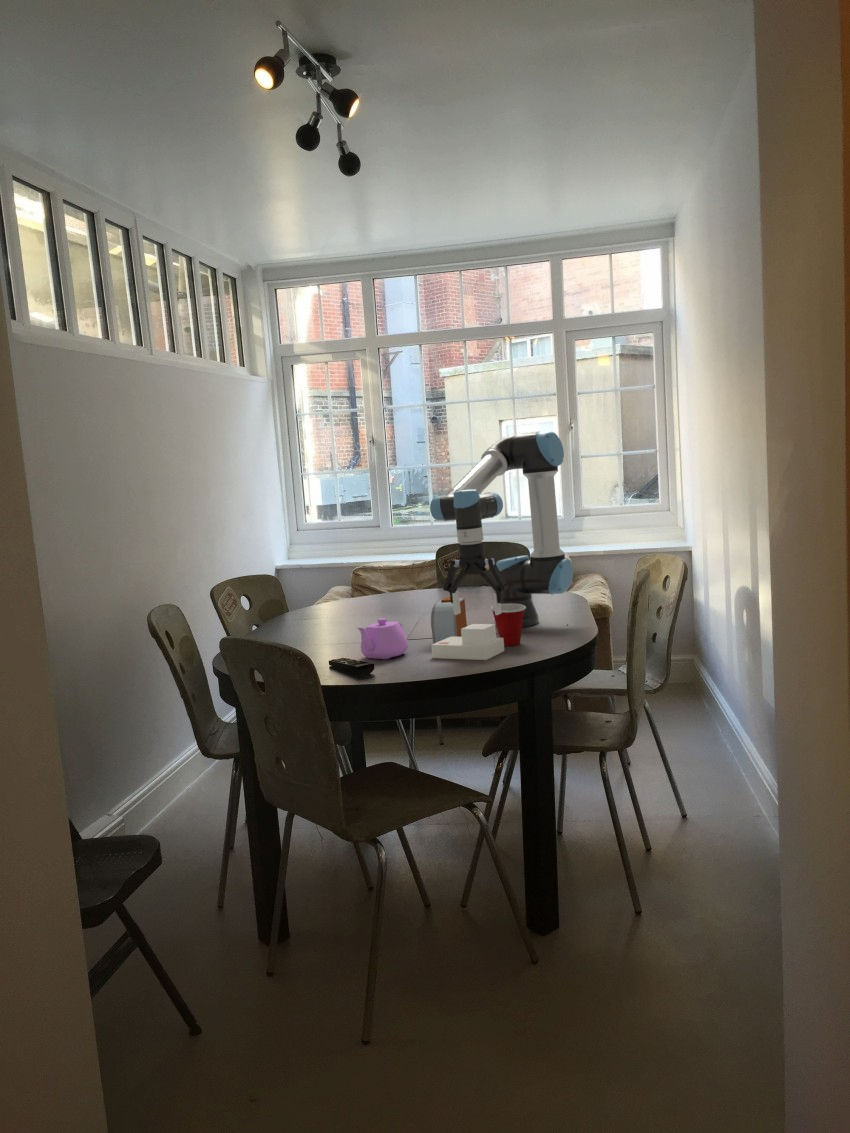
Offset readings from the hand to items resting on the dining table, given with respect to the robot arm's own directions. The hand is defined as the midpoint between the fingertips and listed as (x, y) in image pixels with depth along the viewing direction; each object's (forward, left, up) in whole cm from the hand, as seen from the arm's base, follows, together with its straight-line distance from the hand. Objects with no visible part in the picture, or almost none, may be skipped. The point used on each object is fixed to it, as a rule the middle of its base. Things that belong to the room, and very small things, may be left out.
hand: (477, 614), depth 264 cm
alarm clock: (-18, -20, -12) cm, 29 cm away
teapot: (+7, -30, -12) cm, 33 cm away
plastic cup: (-15, +3, -12) cm, 19 cm away
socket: (0, -4, -12) cm, 13 cm away
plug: (0, 0, -11) cm, 11 cm away
